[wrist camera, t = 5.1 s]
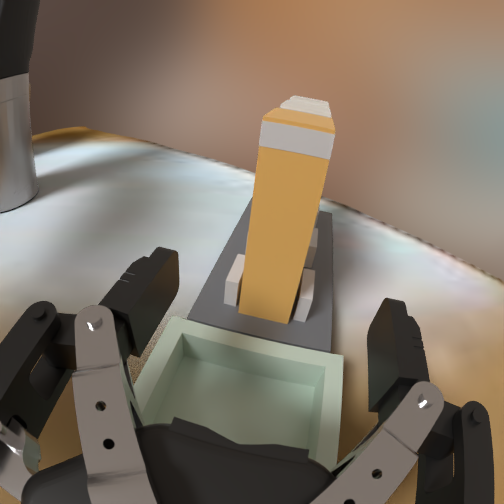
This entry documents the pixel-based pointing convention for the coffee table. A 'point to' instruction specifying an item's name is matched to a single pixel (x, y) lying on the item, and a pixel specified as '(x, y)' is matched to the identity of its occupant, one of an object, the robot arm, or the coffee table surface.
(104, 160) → the coffee table surface
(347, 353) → the coffee table surface
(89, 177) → the coffee table surface
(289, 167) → the block
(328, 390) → the tray
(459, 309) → the coffee table surface
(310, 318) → the fuse block
